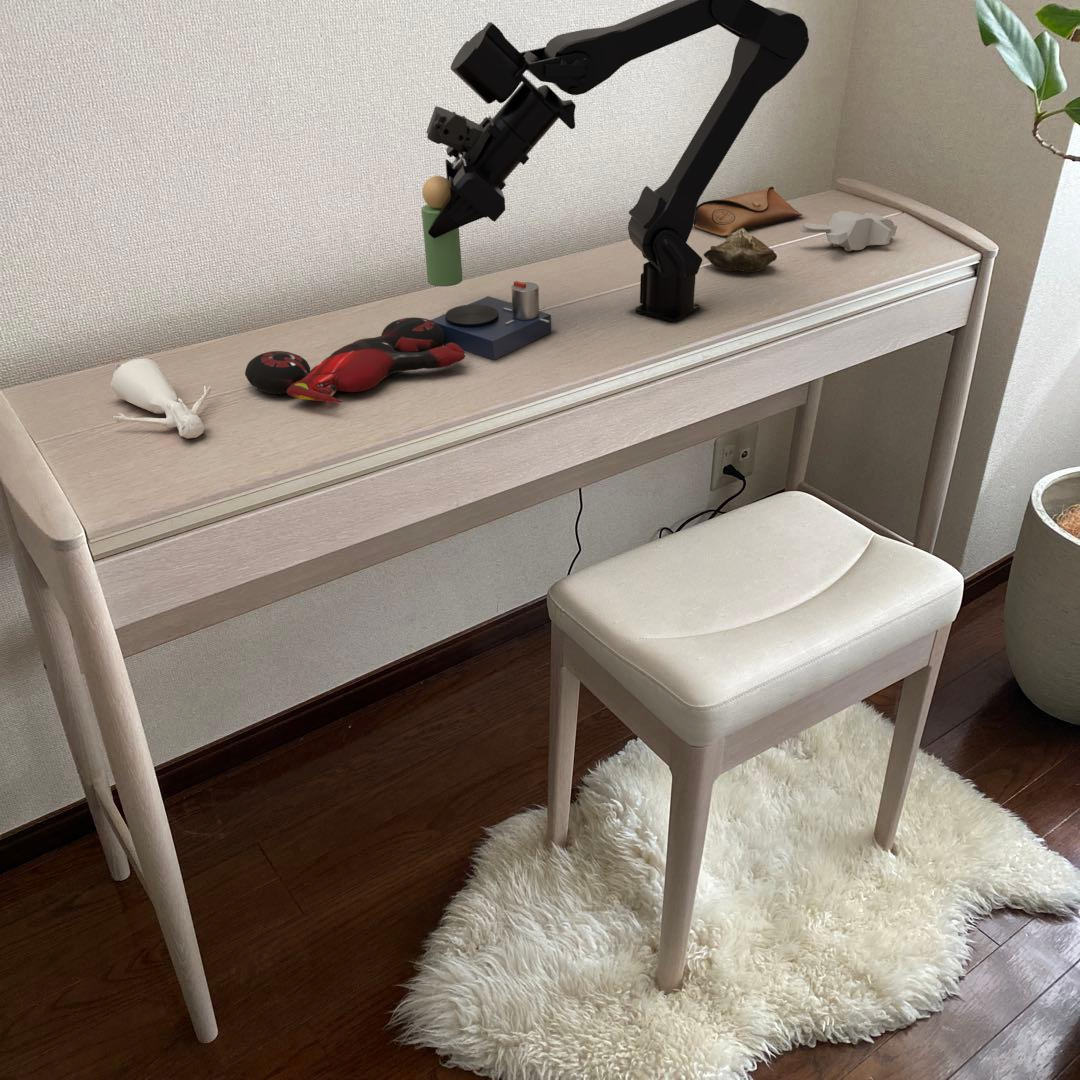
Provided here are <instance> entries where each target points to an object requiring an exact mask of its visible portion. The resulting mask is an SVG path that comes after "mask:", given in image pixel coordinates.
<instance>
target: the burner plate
mask: <svg viewBox="0 0 1080 1080" xmlns="http://www.w3.org/2000/svg"><path fill="white" fill-rule="evenodd" d="M498 318H499V313H498V311H497V310H496V309H495V308H493V307H490V306H486V305H476V304H473V305H468V304H464V305H463V304H462V305H459V306H455V307H452V308H450V309H449V310H447V311H446V312H445V320H446V322H447V323H449V324H451V325H453V326H457V327H464V328H475V327H482V326H486V325H490V324H492V323H494V322H495V321H497V320H498Z"/></svg>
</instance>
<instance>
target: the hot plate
mask: <svg viewBox="0 0 1080 1080" xmlns="http://www.w3.org/2000/svg"><path fill="white" fill-rule="evenodd" d="M473 304H476V305H486V306H490V307H493V308H495V309H496V310H497V311H498V313H499V318H498V320H497V321H495V322H494V323H492V324H490V325H486V326H482V327H475V328H464V327H457V326H453V325H451V324H449V323H447V322H446V320H445V314H446V313H445V314H444V313H443V314H441V315H439V316H437V317H434V318H432V319H430V320H431V321H433V322H435V323H437V324H438V325H439V326H440V327H441V328H442V330H443V334H444V342H443V344H445V345H446V344H448V343H450V342H453V343H455V344H457V345H458V346H459V347H460V348H462V349H463V350H464V352H465V351H466V352H468V353H471V354H475V355H478V356H479V357H483V358H486V359H489V360H491V361H495V360H497V359H499V358H502V357H504V356H506V355H508V354H511V353H512V352H514V351H517V350H518V349H521V348H523V347H525V346H527V345H529V344H532V343H533V342H535V341H537V340H539V339H542V338H544V337H546V336H548V335H550V334H552V314H551V313H549V312H548V313H547V312H544V311H541V310H544V309H545V308H547V306H546V305H542V306H539V316H538V317H537V318H535V319H531V320H519V319H516V318H514V317H513V315H512V302H510V301H506V300H503V299H500V298H496V297H493V296H489V295H487V296H485V297H482V298H480V299H477V300H475V301H472V302H471V303H468V304H467V305H473Z"/></svg>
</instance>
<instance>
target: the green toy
mask: <svg viewBox="0 0 1080 1080" xmlns="http://www.w3.org/2000/svg"><path fill="white" fill-rule="evenodd" d="M421 193H422V198H423V201H424V202H425V203H426V204H425V205H423V206H422V207H421V209H420V211H421V221H422V231H423V242H424V252H425V253H424V255H425V266H426V276H427V283H428V284H429V285H431V286H434V287H453V286H456V285H459V284H460V283H462V282H463V278H464V277H463V268H462V267H463V265H462V252H461V251H462V250H461V239H460V238H461V237H460V227H459V228H457V229H454V230H452V231H450V232H448V233H445V234H443V235H441V236H439V237H437V238H433V237H432V236H430V235H429V234H428V230H429V229H430V227H431V225H432V223H433V222H434V220H435V218H436V217H437V215H438V214H439V212H440V210H441V209H442V207H443V205H444V204H445V202H446V200H447V199H448V197H449V195H450V187H449V180H448V179H447V177H445V176H441V175H434V176H430V177H429V178H428V179H426V180H425V182H424V184H423V186H422V191H421Z"/></svg>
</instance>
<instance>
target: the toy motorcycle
mask: <svg viewBox="0 0 1080 1080" xmlns="http://www.w3.org/2000/svg"><path fill="white" fill-rule="evenodd" d="M431 320H432V319H428V318H424V317H413V316H411V317H405V318H404V317H403V318H400V319H396V320H394V321H392V322H390V323H389V324H387V325H386V326H385V327H384V329H383V330H382V332H381V335H378V336H376V337H366V338H365V337H364V338H361V339H357V340H355V341H353V342H351V343H348V344H346V345H344V346H342V347H340V348H339V349H337V350H335V351H334V352H333V353H331V354H330V355H329V356H328V357H326V358H325V359H323V360H322V361H321V362H320V364H317V365H315V366H314V367H313V368H311V366H310V364H309V362H308V361H307V360H306V359H305V358H303V357H302V356H301V355H298V354H296V353H293V352H290V351H283V350H273V351H272V350H271V351H267V352H263V353H260V354H258V355H256V356H254V357H253V358H252V359H250V361H249V362H248V363H247V365H246V367H245V371H244V375H245V378H246V379H247V382H248V383H249V384H250V385H251V386H252V387H254V388H256V389H257V390H259V391H260V392H264V393H266V394H275V395H276V394H278V395H279V394H280V395H281V394H287V395H288V396H291V397H293V398H295V399H298V400H308V401H316V402H324V403H331V402H332V403H342V401H341V400H340V399H338V398H336V397H335V394H336V393H337V391H339V392H344V393H358V392H364V391H367V390H371V389H372V388H375V387H376V386H377V385H378V384H380V382H382V381H383V380H384V379H385V378H386V377H388V376H390V375H391V374H393V373H395V372H405V371H416V370H422V369H429V370H430V369H431V370H433V369H441V368H445V367H450V366H452V365H453V364H457V363H459V362H461V361H462V360H464V359H465V358H466V354H465V353H466V352H465V350H463V349H462V348H460V347H459V346H458V345H457V344H455V343H453V342H450V343H448V344H445V345H443V344H444V343H443V342H444V334H443V330H442V328H441V327H440V326H439V325H438V324H437V323H435V322H433V321H431Z"/></svg>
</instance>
